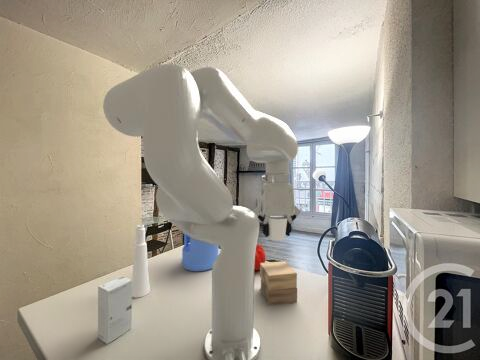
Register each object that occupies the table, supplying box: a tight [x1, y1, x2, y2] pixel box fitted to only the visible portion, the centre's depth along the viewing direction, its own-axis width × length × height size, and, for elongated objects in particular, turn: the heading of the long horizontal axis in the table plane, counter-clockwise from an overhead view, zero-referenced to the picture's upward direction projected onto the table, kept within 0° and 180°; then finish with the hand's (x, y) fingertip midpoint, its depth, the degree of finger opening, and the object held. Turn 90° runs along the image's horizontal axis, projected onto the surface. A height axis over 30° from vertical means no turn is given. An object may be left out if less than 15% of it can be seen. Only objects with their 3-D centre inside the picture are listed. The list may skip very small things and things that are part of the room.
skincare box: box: [97, 276, 133, 345], centre depth 50 cm, size 6×4×12 cm
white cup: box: [267, 216, 287, 242], centre depth 66 cm, size 7×7×7 cm
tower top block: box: [259, 260, 298, 291], centre depth 66 cm, size 9×9×4 cm
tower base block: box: [260, 278, 298, 305], centre depth 66 cm, size 9×9×4 cm
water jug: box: [181, 230, 219, 272], centre depth 88 cm, size 16×16×28 cm
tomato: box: [254, 244, 266, 271], centre depth 85 cm, size 11×12×9 cm
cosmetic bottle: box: [131, 224, 152, 299], centre depth 66 cm, size 6×6×22 cm
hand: (276, 234), depth 66 cm, fingers closed on white cup, 6 cm apart
